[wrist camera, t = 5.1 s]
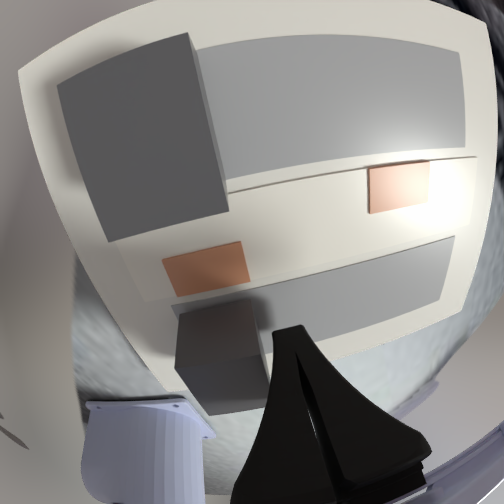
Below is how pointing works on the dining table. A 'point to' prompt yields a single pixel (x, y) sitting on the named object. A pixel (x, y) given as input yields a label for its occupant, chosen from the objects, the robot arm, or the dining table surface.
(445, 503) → the robot arm
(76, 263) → the dining table surface
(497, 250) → the dining table surface
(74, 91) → the tab
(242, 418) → the dining table surface
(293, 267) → the switch panel
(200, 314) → the dark grey block
